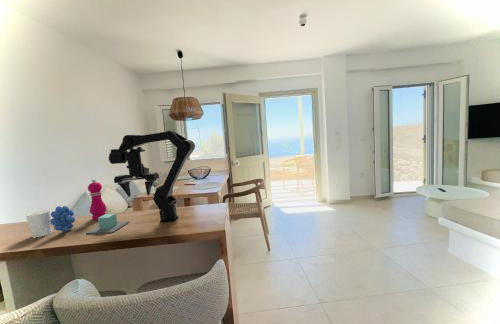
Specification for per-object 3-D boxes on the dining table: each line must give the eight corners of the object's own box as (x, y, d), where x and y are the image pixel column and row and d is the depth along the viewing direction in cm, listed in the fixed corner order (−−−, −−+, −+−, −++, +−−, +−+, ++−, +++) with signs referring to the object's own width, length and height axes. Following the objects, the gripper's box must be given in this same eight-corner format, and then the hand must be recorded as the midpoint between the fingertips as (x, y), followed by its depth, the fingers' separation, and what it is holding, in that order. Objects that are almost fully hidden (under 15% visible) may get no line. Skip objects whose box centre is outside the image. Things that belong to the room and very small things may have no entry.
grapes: (63, 237, 104) (58, 209, 102) (48, 237, 104) (43, 210, 103) (84, 226, 115) (80, 201, 114) (70, 227, 116) (66, 202, 114)
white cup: (34, 239, 103) (30, 216, 102) (27, 236, 108) (23, 214, 106) (56, 232, 110) (53, 210, 109) (49, 230, 114) (45, 209, 113)
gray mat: (129, 222, 116) (129, 221, 116) (113, 232, 104) (112, 231, 104) (104, 223, 117) (104, 222, 117) (86, 234, 105) (85, 232, 105)
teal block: (117, 224, 112) (115, 213, 112) (110, 228, 108) (108, 217, 107) (106, 224, 113) (105, 214, 112) (99, 229, 108) (97, 218, 107)
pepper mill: (102, 220, 123) (96, 180, 120) (88, 221, 123) (81, 181, 121) (110, 215, 130) (105, 177, 128) (97, 216, 130) (91, 178, 128)
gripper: (162, 159, 120) (165, 190, 122) (125, 161, 122) (129, 192, 124) (151, 161, 109) (155, 196, 111) (110, 164, 111) (115, 199, 113)
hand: (139, 196), depth 115 cm, fingers open, 9 cm apart
